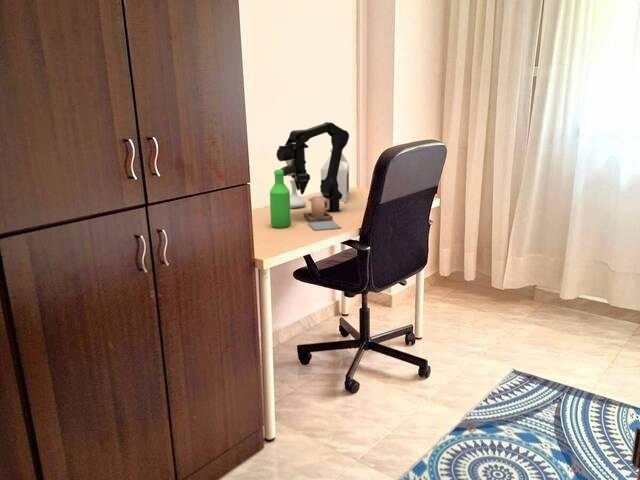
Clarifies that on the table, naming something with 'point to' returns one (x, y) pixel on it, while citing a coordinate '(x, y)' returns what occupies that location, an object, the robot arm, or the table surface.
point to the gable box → (339, 177)
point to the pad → (324, 225)
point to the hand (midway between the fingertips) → (300, 192)
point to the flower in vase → (294, 193)
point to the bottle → (280, 202)
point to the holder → (318, 219)
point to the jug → (318, 206)
